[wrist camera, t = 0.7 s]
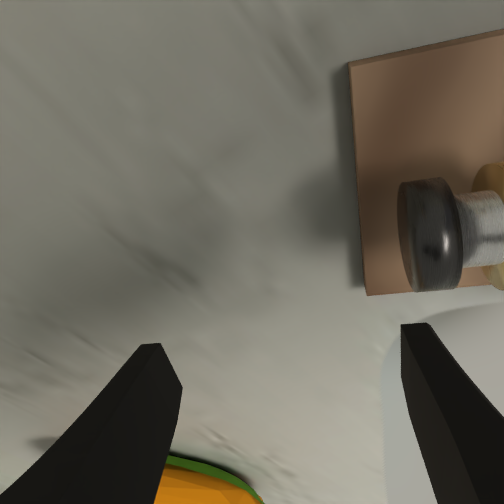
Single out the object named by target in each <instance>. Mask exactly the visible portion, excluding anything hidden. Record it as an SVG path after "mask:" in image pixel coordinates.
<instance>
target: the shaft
mask: <svg viewBox="0 0 504 504" xmlns="http://www.w3.org/2000/svg"><path fill="white" fill-rule="evenodd" d="M397 224H398V235H399V243H400V250H401V255H402V260H403V265H404V269H405V273H406V276H407V279H408V282H409V284H410V286H411V288H412V290H413V291H414V292H426V291H437V290H448V289H454V288H456V287H457V286H458V284H459V281H460V279H461V274H462V268H467V267H477V266H480V267H481V269H482V271H483V273H484V275H485V276H486V278H487V279H488V281H489V282H490V283H491V284H492V285H493V286H494V287H496V288H497V289H499V290H504V161H503V162H496V163H490V164H486V165H484V166H482V167H481V168H480V170H479V171H478V172H477V174H476V176H475V179H474V182H473V185H472V190H471V193H464V194H457V195H453V193H452V191H451V189H450V187H449V185H448V183H447V182H446V181H445V180H444V179H443V178H442V177H435V178H429V179H422V180H415V181H408V182H402V183H401V184H400V186H399V189H398V196H397Z"/></svg>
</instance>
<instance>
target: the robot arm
mask: <svg viewBox="0 0 504 504" xmlns="http://www.w3.org/2000/svg"><path fill="white" fill-rule="evenodd" d="M401 378H402V383H403V388H404V392H405V398H406V402H407V407H408V411H409V415H410V419H411V422H412V425H413V429H414V432H415V435H416V438H417V441H418V444H419V447H420V450H421V454H422V457H423V459H424V462H425V466H426V469H427V472H428V475H429V478H430V481H431V484H432V488H433V491H434V494H435V497H436V500H437V503H438V504H504V417H503V416H502V415H501V414H500V412H499V411H498V410H497V409H496V408H495V407H494V406H493V405H492V403H491V402H490V401H489V400H488V399H487V398H486V397H485V395H484V394H483V393H482V392H481V391H480V389H479V388H478V387H477V386H476V385H475V384H474V383H473V381H472V380H471V379H470V378H469V376H468V375H467V374H466V373H465V372H464V370H463V369H462V368H461V367H460V365H459V364H458V363H457V361H456V360H455V359H454V358H453V356H452V355H451V354H450V352H449V351H448V350H447V348H446V347H445V346H444V344H443V343H442V342H441V340H440V339H439V337H438V336H437V334H436V333H435V331H434V330H433V328H432V327H431V325H429V324H428V323H414V324H401ZM182 389H183V387H182V385H181V383H180V381H179V379H178V377H177V375H176V373H175V371H174V369H173V367H172V365H171V363H170V361H169V359H168V357H167V355H166V353H165V351H164V349H163V347H162V345H161V343H153V344H141V345H140V346H139V348H138V349H137V350H136V351H135V352H134V353H133V354H132V356H131V357H130V358H129V359H128V360H127V362H126V363H125V364H124V365H123V366H122V367H121V369H120V370H119V371H118V372H117V373H116V375H115V376H114V377H113V378H112V379H111V381H110V382H109V383H108V384H107V385H106V386H105V388H104V389H103V390H102V391H101V392H100V393H99V395H98V396H97V397H96V398H95V399H94V400H93V402H92V403H91V404H90V405H89V406H88V407H87V409H86V410H85V411H84V412H83V413H82V414H81V415H80V416H79V417H78V418H77V419H76V421H75V422H74V423H73V424H72V425H71V426H70V427H69V428H68V429H67V430H66V431H65V432H64V434H63V435H62V436H61V437H60V438H59V439H58V440H57V441H56V442H55V443H54V444H53V445H52V446H51V447H50V448H49V449H48V450H47V451H46V452H45V453H44V454H43V455H42V456H41V457H40V458H39V459H38V460H37V461H36V462H35V463H34V464H33V465H32V466H31V467H30V468H29V469H28V470H27V471H26V472H25V473H24V474H23V475H22V476H21V477H20V478H18V479H17V480H16V481H15V482H14V483H13V484H12V485H11V486H10V487H9V488H8V489H6V490H5V491H4V492H3V493H2V494H1V495H0V504H154V501H155V498H156V494H157V491H158V487H159V484H160V481H161V477H162V474H163V470H164V467H165V463H166V460H167V457H168V453H169V450H170V446H171V443H172V439H173V436H174V432H175V428H176V425H177V420H178V414H179V409H180V402H181V395H182Z"/></svg>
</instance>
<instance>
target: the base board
mask: <svg viewBox="0 0 504 504" xmlns="http://www.w3.org/2000/svg"><path fill="white" fill-rule="evenodd" d="M348 70H349V84H350V97H351V111H352V124H353V138H354V151H355V165H356V179H357V192H358V206H359V219H360V233H361V246H362V260H363V273H364V285H365V290H366V294H367V296H372V295H383V294H394V293H404V292H414V291H413V290H412V288H411V286H410V284H409V282H408V279H407V276H406V273H405V269H404V265H403V260H402V255H401V250H400V243H399V235H398V224H397V196H398V189H399V186H400V184H401V183H402V182H408V181H415V180H422V179H429V178H435V177H442V178H443V179H444V180H445V181H446V182H447V183H448V185H449V187H450V189H451V191H452V193H453V195H457V194H464V193H471V190H472V185H473V182H474V179H475V176H476V174H477V172H478V171H479V170H480V168H481V167H482V166H484V165H486V164H490V163H496V162H503V161H504V29H501V30H496V31H492V32H487V33H482V34H478V35H473V36H468V37H464V38H459V39H454V40H450V41H445V42H440V43H436V44H431V45H426V46H422V47H417V48H412V49H408V50H403V51H398V52H394V53H389V54H384V55H380V56H375V57H370V58H366V59H361V60H356V61H352V62H348ZM480 285H491V283H490V282H489V281H488V279H487V278H486V276H485V275H484V273H483V271H482V269H481V267H480V266H477V267H467V268H462V274H461V279H460V281H459V284H458V286H457V287H456V288H458V287H469V286H480Z"/></svg>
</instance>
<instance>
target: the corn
mask: <svg viewBox="0 0 504 504" xmlns="http://www.w3.org/2000/svg"><path fill="white" fill-rule="evenodd" d="M154 504H264V502H263V500H262V498H261V497H260V496H259V495H258V494H257V493H256V492H255V491H254V489H252V488H251V487H250V486H248V485H247V484H246V483H245V482H243V481H242V480H240V479H239V478H237V477H235V476H234V475H231V474H229V473H227V472H225V471H223V470H221V469H219V468H216V467H213V466H210V465H207V464H204V463H199V462H195V461H191V460H187V459H182V458H178V457H174V456H170V455H168V457H167V460H166V463H165V467H164V470H163V474H162V477H161V481H160V484H159V487H158V491H157V494H156V498H155V501H154Z"/></svg>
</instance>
